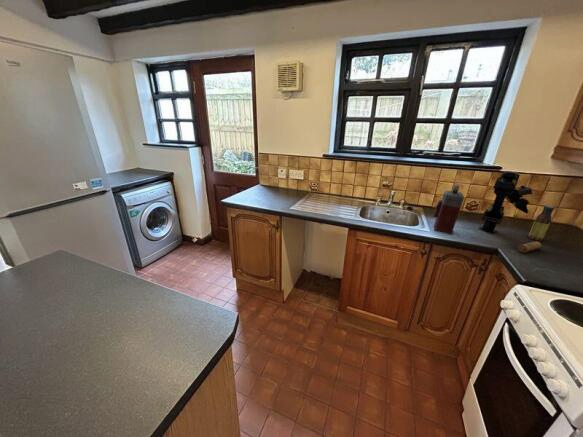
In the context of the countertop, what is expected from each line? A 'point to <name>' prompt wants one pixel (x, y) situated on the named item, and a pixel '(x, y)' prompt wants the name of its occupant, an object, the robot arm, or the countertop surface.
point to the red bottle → (448, 210)
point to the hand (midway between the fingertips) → (524, 210)
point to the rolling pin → (529, 247)
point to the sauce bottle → (541, 224)
